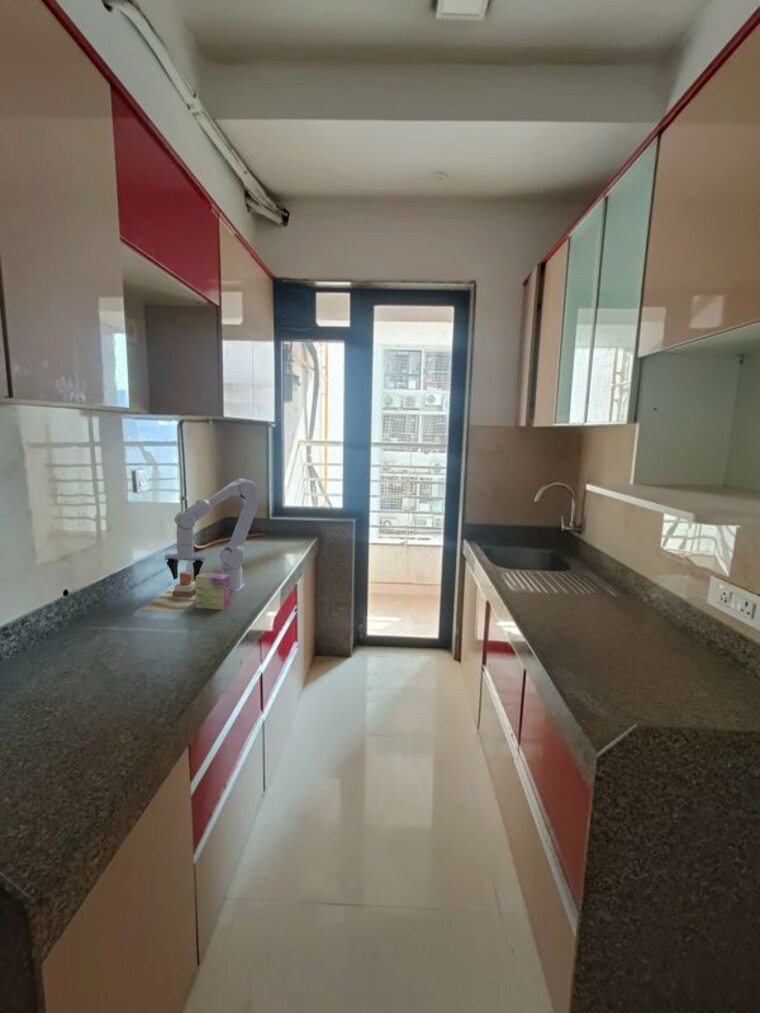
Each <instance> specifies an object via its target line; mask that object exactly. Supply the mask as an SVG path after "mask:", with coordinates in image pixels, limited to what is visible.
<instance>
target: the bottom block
mask: <svg viewBox="0 0 760 1013" xmlns="http://www.w3.org/2000/svg"><path fill="white" fill-rule="evenodd" d="M195 594H196V588H195V589H194V590H192V591H191V592H184V591H175V590H174V591H173V597H193V596H194V595H195Z"/></svg>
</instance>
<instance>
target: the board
mask: <svg viewBox="0 0 760 1013" xmlns="http://www.w3.org/2000/svg"><path fill="white" fill-rule="evenodd" d="M173 591H174V587H171V588H170V589H167V591H165V592H164V593H163V594H161V595H160V596H159V597H157V598H156V599H155V600H153V601H152V602H151V603H149V604H148V605H146V606H145V607H143V608H142V609H141V610H140V611H142V612H144V611H145V612H165V613H167V612H169V613H183V612H185V611H186V610H187V609H188V608H190V606H191V605H192V604H193V603H194V602H196V594H195V595H194V596H193V597H173Z"/></svg>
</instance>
